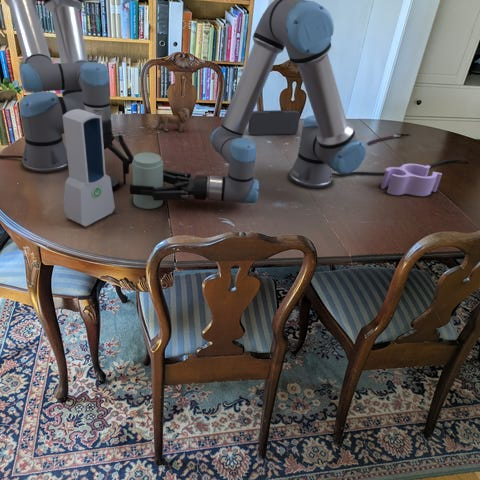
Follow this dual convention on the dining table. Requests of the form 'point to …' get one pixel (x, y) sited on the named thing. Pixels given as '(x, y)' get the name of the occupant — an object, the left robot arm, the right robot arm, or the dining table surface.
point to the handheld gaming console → (273, 122)
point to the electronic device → (86, 169)
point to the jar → (147, 177)
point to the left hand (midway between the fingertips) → (102, 183)
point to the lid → (114, 183)
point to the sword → (386, 138)
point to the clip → (410, 180)
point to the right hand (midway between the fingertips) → (132, 182)
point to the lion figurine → (174, 119)
